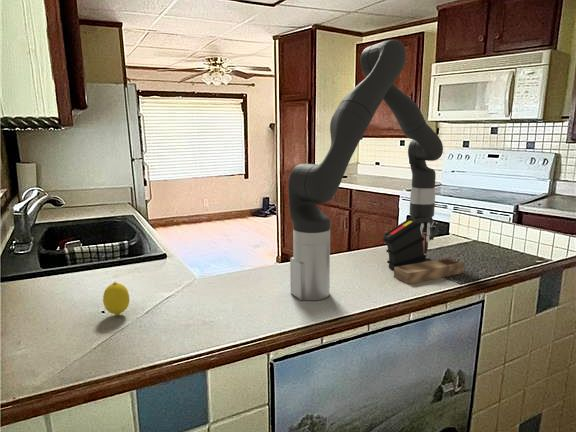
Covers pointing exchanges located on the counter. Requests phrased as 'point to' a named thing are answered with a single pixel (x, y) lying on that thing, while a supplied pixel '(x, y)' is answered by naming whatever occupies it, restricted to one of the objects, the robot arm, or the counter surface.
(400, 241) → the magazine
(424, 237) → the pink cylinder
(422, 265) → the joist
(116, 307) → the lemon
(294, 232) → the robot arm
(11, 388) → the counter surface
